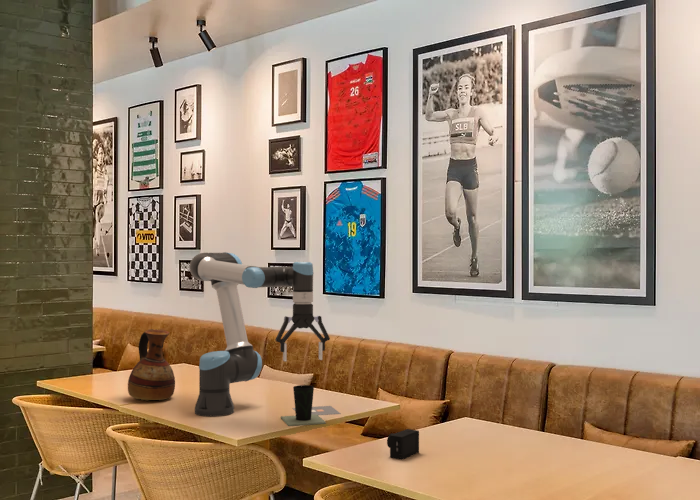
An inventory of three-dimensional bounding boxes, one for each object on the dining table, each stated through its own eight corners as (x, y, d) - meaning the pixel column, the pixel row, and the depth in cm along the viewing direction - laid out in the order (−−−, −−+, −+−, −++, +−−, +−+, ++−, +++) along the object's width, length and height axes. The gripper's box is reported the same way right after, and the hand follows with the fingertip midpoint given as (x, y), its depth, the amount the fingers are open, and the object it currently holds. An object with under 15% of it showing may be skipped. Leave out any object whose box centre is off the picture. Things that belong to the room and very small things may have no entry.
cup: (289, 420, 277) (289, 387, 277) (300, 416, 284) (300, 384, 284) (306, 422, 274) (306, 389, 274) (317, 418, 280) (317, 386, 280)
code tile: (300, 418, 287) (300, 416, 287) (292, 410, 302) (292, 407, 302) (341, 416, 291) (341, 413, 291) (330, 408, 307) (330, 405, 307)
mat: (288, 426, 270) (288, 424, 270) (280, 418, 283) (280, 416, 283) (325, 423, 274) (325, 422, 274) (316, 415, 287) (316, 414, 287)
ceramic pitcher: (147, 405, 307) (147, 332, 307) (117, 400, 319) (117, 329, 319) (184, 398, 322) (184, 329, 322) (154, 393, 334) (155, 326, 335)
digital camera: (404, 450, 237) (404, 427, 237) (419, 452, 234) (419, 430, 234) (386, 457, 229) (386, 434, 229) (401, 460, 226) (401, 436, 226)
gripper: (271, 304, 272) (271, 362, 272) (337, 303, 279) (337, 360, 279) (268, 303, 279) (267, 360, 279) (332, 302, 286) (332, 357, 286)
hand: (302, 360), depth 279 cm, fingers open, 13 cm apart
